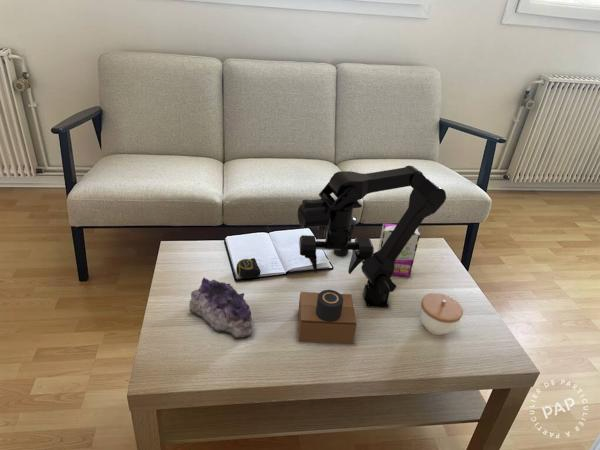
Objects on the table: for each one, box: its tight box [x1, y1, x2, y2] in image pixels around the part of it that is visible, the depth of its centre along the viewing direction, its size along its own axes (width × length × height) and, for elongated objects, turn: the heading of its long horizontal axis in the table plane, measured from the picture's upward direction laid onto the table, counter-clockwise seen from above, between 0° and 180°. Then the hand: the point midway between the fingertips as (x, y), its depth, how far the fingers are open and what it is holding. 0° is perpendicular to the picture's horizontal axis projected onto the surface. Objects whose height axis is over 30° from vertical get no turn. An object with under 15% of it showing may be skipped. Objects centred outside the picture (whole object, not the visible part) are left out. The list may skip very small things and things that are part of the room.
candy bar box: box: [377, 222, 421, 278], centre depth 131 cm, size 11×5×16 cm, turn 84°
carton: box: [297, 296, 358, 345], centre depth 109 cm, size 14×11×7 cm
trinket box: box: [419, 292, 464, 336], centre depth 112 cm, size 11×11×9 cm
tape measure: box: [235, 257, 261, 279], centre depth 127 cm, size 7×7×4 cm
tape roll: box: [316, 289, 343, 322], centre depth 104 cm, size 6×6×5 cm
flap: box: [299, 291, 355, 309], centre depth 110 cm, size 14×5×1 cm, turn 91°
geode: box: [188, 277, 254, 340], centre depth 109 cm, size 20×12×10 cm, turn 53°
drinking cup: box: [333, 214, 358, 258], centre depth 137 cm, size 8×8×20 cm
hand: (332, 272), depth 111 cm, fingers open, 9 cm apart
